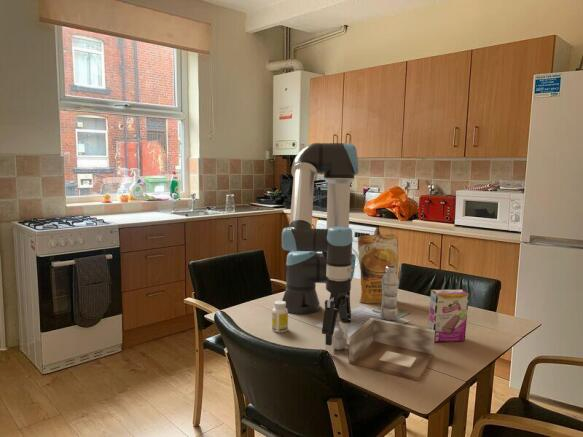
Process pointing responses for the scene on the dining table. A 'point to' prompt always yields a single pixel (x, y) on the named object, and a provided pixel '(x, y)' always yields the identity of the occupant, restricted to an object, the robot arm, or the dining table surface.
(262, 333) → the dining table surface
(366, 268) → the pancake mix bag
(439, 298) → the candy bar box
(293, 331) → the dining table surface
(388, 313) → the plastic bottle
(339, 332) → the white lumpy figure
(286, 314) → the supplement bottle
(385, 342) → the arena
